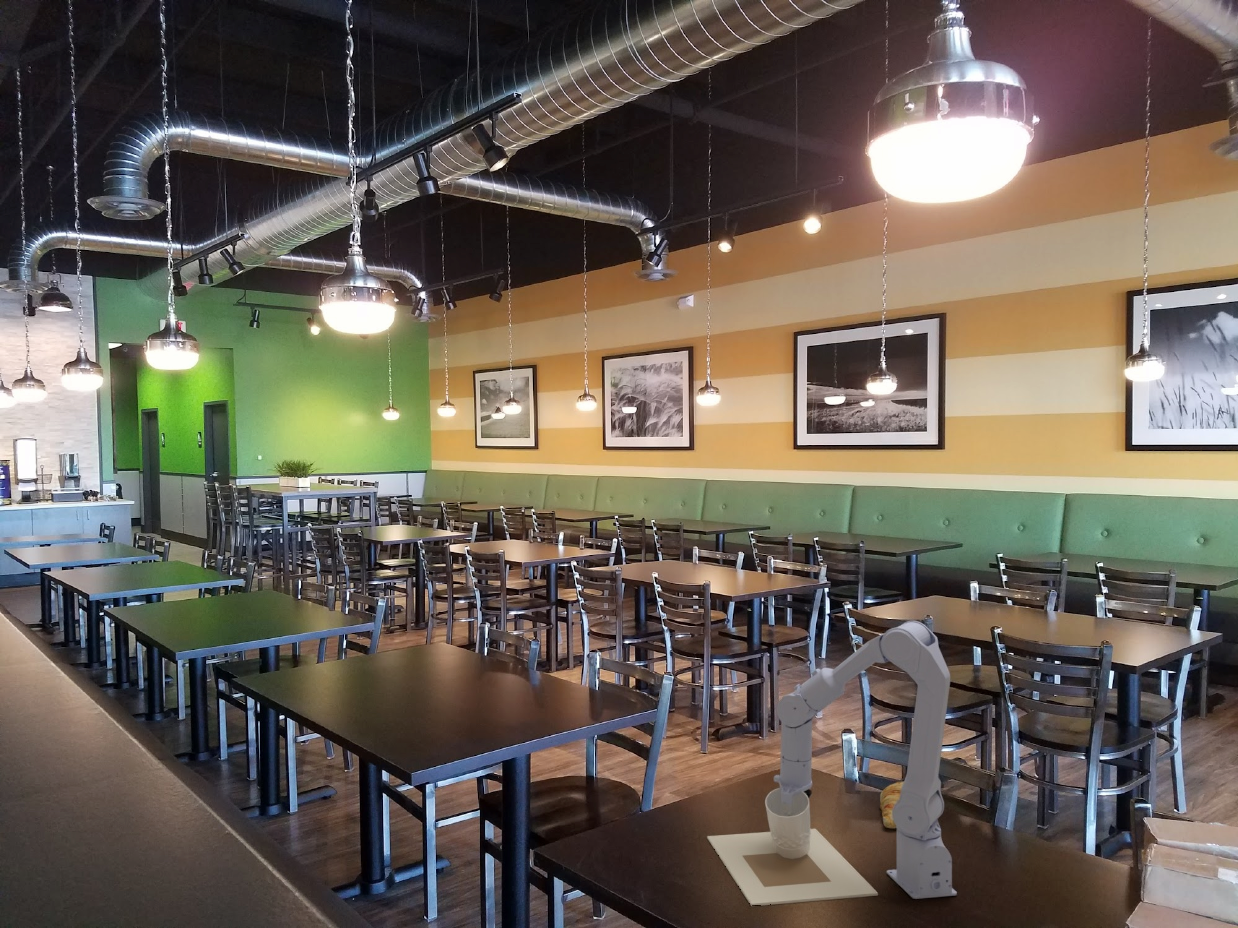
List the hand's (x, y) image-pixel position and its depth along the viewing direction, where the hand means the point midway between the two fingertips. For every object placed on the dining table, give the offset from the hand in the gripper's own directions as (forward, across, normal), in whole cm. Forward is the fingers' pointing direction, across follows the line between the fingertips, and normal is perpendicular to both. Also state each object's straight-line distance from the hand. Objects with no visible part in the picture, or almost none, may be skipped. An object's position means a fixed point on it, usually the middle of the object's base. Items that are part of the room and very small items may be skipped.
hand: (794, 828), depth 159 cm
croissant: (+4, -25, +17) cm, 31 cm away
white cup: (+2, +3, 0) cm, 4 cm away
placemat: (+3, +8, 0) cm, 8 cm away
